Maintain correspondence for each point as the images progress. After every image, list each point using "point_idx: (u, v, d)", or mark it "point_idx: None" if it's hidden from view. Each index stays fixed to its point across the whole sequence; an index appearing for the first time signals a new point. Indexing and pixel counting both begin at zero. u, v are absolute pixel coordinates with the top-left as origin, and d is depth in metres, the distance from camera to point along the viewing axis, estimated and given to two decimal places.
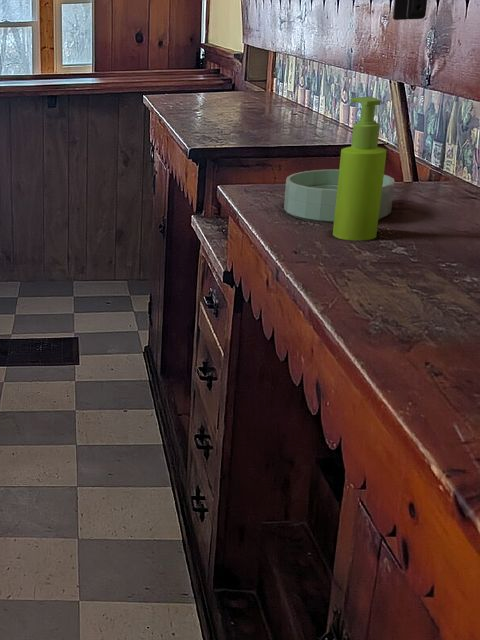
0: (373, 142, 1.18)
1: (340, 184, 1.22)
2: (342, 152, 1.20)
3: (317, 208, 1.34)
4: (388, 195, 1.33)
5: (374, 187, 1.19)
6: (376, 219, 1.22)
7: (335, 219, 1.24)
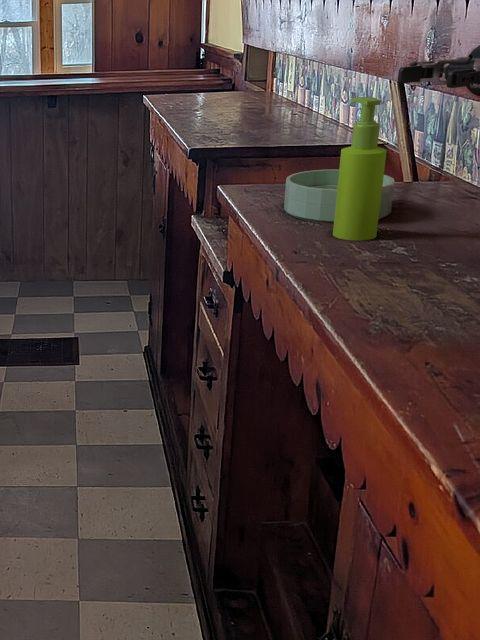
0: (373, 142, 1.18)
1: (340, 184, 1.22)
2: (342, 152, 1.20)
3: (317, 208, 1.34)
4: (388, 195, 1.33)
5: (374, 187, 1.19)
6: (376, 219, 1.22)
7: (335, 219, 1.24)
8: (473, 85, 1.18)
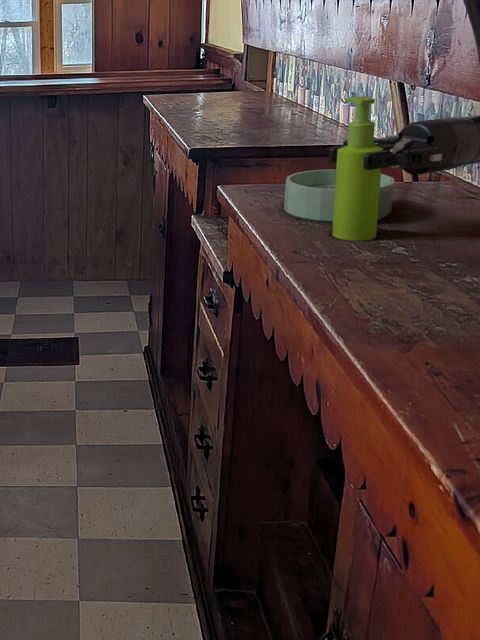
0: (369, 140, 1.18)
1: (338, 184, 1.22)
2: (338, 152, 1.21)
3: (317, 208, 1.34)
4: (388, 195, 1.33)
5: (372, 185, 1.20)
6: (375, 217, 1.22)
7: (334, 218, 1.24)
8: (389, 167, 1.19)
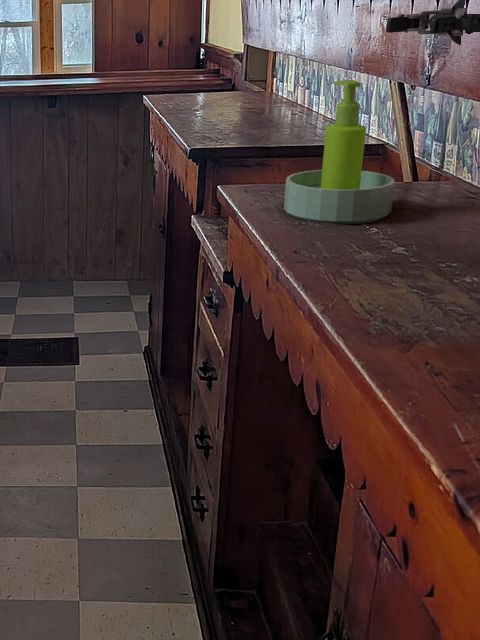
0: (354, 120, 1.33)
1: (325, 158, 1.36)
2: (327, 129, 1.35)
3: (317, 208, 1.34)
4: (388, 195, 1.33)
5: (355, 160, 1.34)
6: None
7: None
8: (455, 31, 1.29)
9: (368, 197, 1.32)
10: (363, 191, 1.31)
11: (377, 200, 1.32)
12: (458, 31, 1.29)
